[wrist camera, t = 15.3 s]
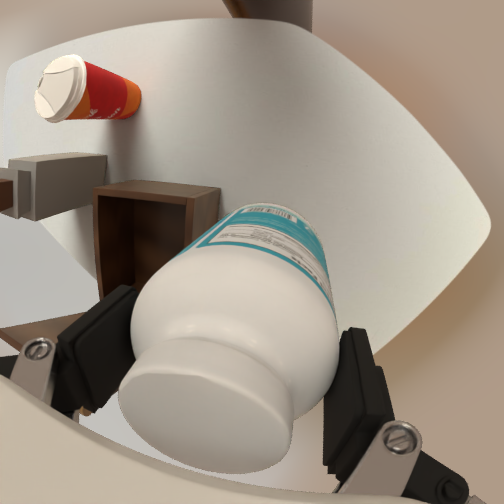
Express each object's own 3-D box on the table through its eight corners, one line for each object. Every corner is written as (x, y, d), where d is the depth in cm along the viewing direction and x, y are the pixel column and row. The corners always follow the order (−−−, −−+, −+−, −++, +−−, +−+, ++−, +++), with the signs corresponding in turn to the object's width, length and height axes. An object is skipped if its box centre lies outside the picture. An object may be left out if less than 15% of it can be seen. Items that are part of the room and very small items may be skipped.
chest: (133, 179, 36) (92, 187, 28) (221, 188, 34) (194, 198, 26) (134, 283, 41) (101, 310, 33) (211, 301, 40) (189, 336, 31)
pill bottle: (239, 319, 21) (167, 485, 8) (193, 226, 19) (37, 340, 6) (340, 288, 18) (367, 478, 6) (299, 181, 17) (279, 257, 4)
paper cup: (97, 117, 34) (24, 113, 21) (118, 70, 31) (49, 48, 18) (134, 134, 34) (60, 132, 21) (158, 83, 31) (90, 57, 18)
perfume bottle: (102, 200, 38) (6, 232, 21) (72, 194, 38) (-18, 220, 22) (107, 155, 36) (5, 166, 19) (76, 152, 36) (-19, 163, 19)
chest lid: (-2, 328, 16) (3, 378, 16) (103, 390, 15) (107, 447, 14) (99, 308, 32) (97, 344, 32) (188, 335, 31) (183, 374, 31)
